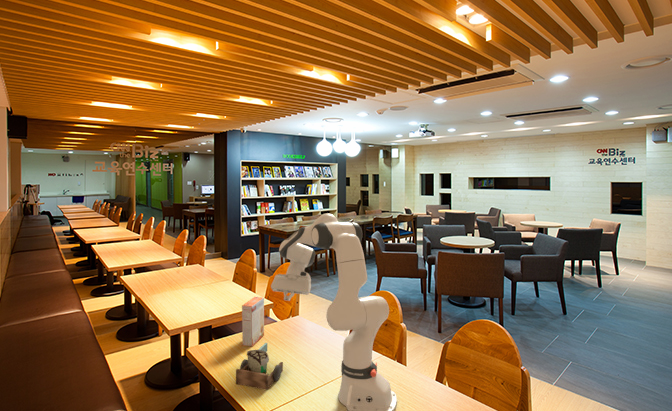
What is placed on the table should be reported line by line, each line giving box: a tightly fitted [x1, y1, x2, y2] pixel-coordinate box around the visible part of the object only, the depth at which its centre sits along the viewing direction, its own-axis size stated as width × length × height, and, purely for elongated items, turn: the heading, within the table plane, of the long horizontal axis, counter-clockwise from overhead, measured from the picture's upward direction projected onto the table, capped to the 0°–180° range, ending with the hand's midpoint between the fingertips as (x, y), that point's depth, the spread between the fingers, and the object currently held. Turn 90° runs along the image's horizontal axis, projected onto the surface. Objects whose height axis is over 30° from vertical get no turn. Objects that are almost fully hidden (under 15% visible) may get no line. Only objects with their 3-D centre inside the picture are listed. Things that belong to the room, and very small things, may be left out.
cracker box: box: [241, 296, 265, 347], centre depth 186 cm, size 14×6×21 cm, turn 166°
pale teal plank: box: [257, 342, 268, 353], centre depth 168 cm, size 14×1×4 cm, turn 164°
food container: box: [246, 349, 270, 374], centre depth 152 cm, size 12×6×10 cm, turn 43°
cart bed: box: [235, 358, 284, 391], centre depth 152 cm, size 16×15×6 cm
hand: (286, 300), depth 176 cm, fingers closed
